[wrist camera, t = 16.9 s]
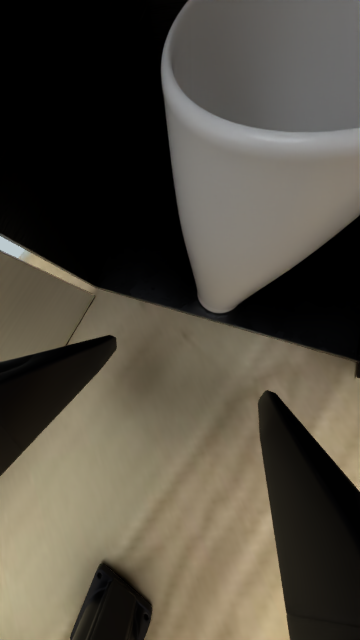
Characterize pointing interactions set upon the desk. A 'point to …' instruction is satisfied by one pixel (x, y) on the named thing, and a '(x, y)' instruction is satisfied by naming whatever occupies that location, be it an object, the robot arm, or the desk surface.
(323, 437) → the desk surface
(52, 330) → the microwave door
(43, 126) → the microwave
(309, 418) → the desk surface
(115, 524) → the desk surface
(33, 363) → the robot arm
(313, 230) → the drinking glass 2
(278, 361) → the desk surface
